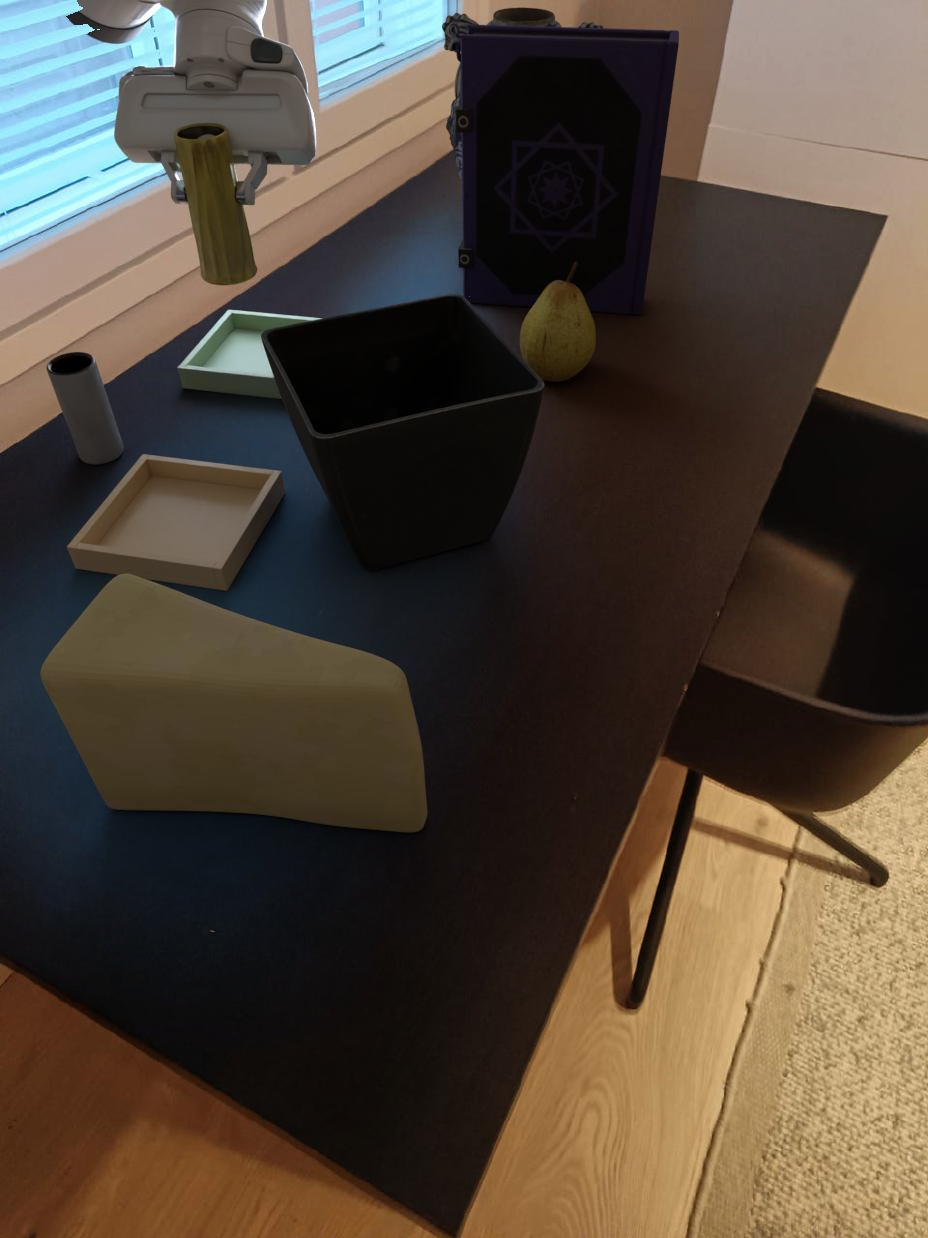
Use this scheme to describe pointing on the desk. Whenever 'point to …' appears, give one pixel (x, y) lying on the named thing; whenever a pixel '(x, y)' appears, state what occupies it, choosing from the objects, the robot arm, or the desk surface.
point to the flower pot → (408, 422)
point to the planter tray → (179, 522)
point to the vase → (215, 204)
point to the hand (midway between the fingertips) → (213, 202)
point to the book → (562, 160)
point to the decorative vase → (453, 43)
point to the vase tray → (235, 355)
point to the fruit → (558, 332)
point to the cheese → (234, 714)
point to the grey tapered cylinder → (85, 407)
